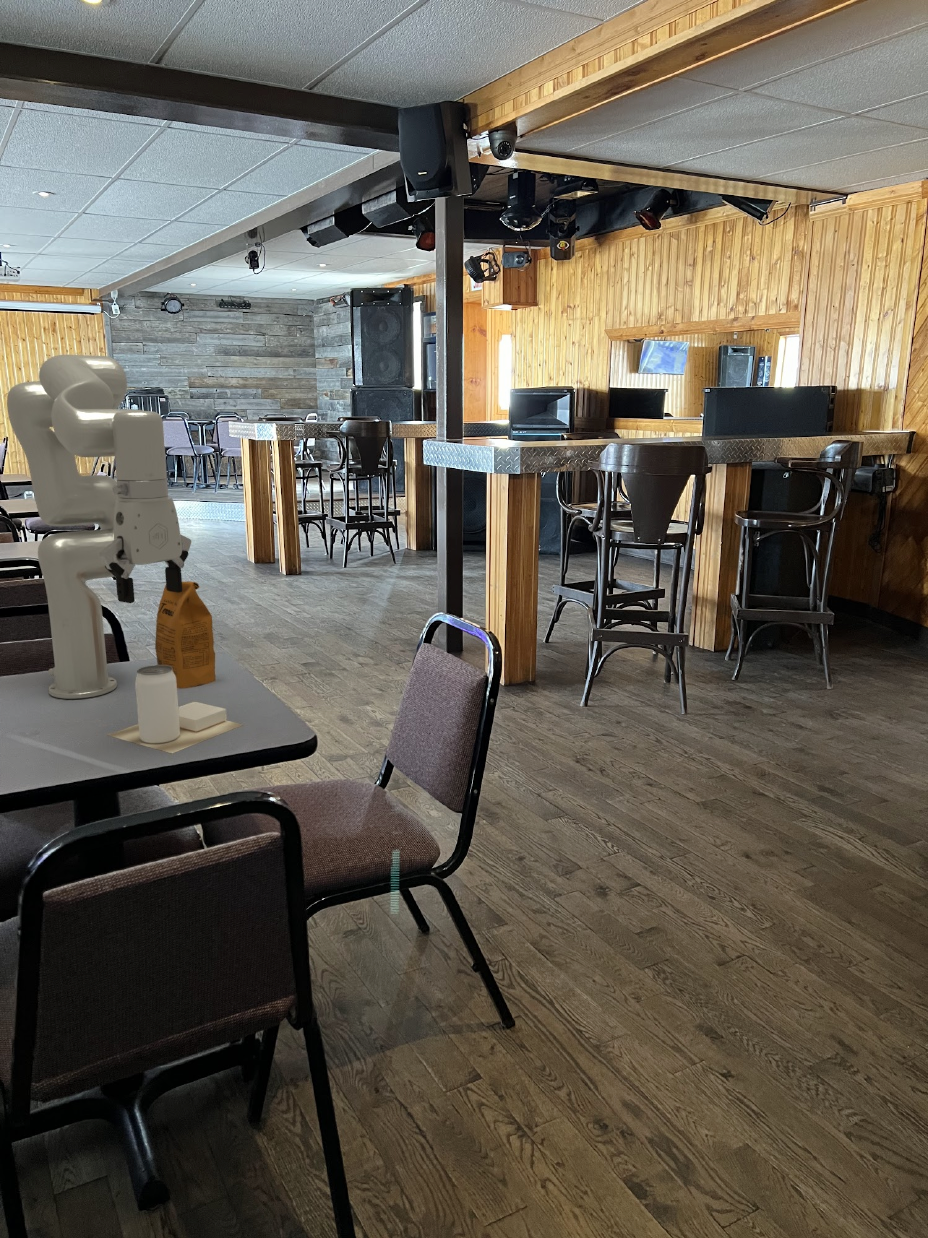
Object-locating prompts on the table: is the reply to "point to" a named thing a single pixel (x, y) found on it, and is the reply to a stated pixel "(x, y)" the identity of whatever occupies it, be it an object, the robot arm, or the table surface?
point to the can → (157, 704)
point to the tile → (200, 716)
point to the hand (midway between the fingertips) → (151, 596)
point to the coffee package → (185, 637)
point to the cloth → (183, 739)
